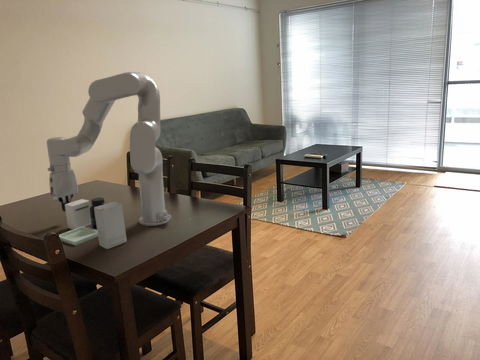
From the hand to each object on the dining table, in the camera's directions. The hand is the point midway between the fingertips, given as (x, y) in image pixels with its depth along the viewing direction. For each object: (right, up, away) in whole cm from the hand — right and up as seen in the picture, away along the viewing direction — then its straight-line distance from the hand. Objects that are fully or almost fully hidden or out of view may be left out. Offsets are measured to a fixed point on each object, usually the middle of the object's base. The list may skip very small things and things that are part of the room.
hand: (66, 211), depth 168 cm
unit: (+7, -6, -3) cm, 9 cm away
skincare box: (+26, -10, -22) cm, 36 cm away
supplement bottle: (+16, -6, -5) cm, 18 cm away
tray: (+11, -9, -15) cm, 21 cm away
